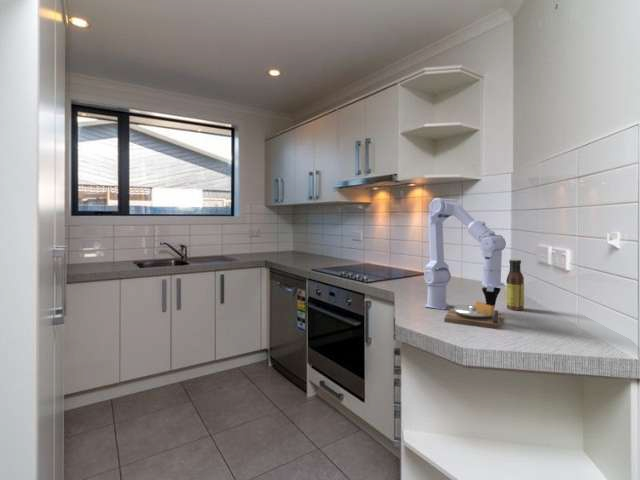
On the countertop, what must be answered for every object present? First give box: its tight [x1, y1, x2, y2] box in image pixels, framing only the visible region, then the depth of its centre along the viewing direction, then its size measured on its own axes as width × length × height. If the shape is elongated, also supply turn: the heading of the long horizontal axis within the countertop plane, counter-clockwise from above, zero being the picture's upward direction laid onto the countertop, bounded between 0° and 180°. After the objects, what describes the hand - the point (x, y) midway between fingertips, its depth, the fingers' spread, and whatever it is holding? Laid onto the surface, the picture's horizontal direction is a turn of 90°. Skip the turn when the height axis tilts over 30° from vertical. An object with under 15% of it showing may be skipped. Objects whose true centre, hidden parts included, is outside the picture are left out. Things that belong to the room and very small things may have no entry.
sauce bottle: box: [505, 258, 525, 311], centre depth 140 cm, size 7×6×20 cm
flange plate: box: [453, 301, 495, 317], centre depth 125 cm, size 13×13×4 cm
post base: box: [443, 307, 502, 330], centre depth 125 cm, size 16×17×6 cm
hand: (490, 308), depth 122 cm, fingers closed
